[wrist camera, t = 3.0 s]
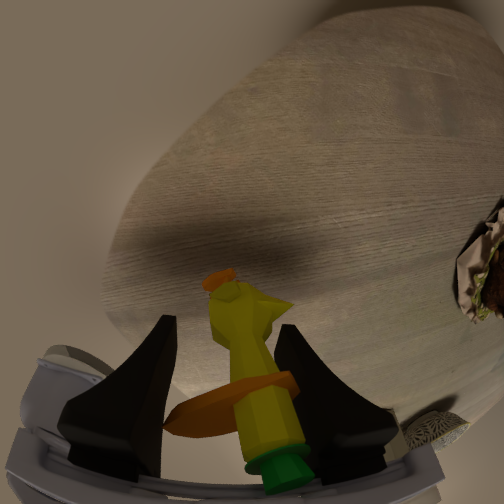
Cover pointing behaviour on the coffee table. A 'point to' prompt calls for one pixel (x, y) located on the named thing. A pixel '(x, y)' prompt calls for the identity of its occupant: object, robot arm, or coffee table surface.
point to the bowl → (435, 430)
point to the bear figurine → (483, 274)
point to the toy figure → (249, 389)
